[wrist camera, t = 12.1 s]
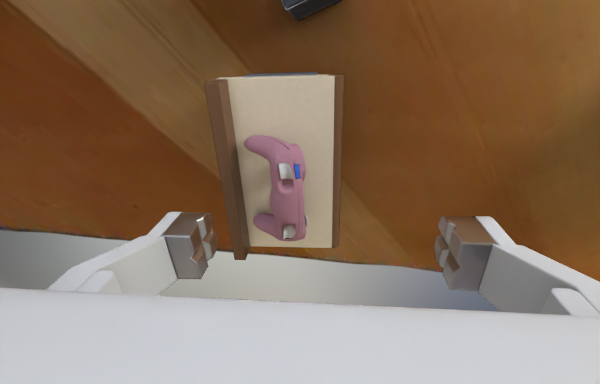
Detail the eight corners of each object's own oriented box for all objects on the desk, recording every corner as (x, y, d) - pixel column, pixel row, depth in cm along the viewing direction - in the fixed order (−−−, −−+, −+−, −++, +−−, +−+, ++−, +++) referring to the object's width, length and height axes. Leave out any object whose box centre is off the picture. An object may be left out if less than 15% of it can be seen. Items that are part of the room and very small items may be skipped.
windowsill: (340, 66, 33) (345, 79, 23) (336, 205, 41) (339, 262, 31) (241, 69, 34) (203, 83, 24) (257, 205, 42) (234, 259, 32)
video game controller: (291, 214, 33) (317, 250, 27) (251, 223, 32) (270, 263, 26) (287, 126, 29) (318, 147, 23) (240, 132, 27) (260, 156, 21)
